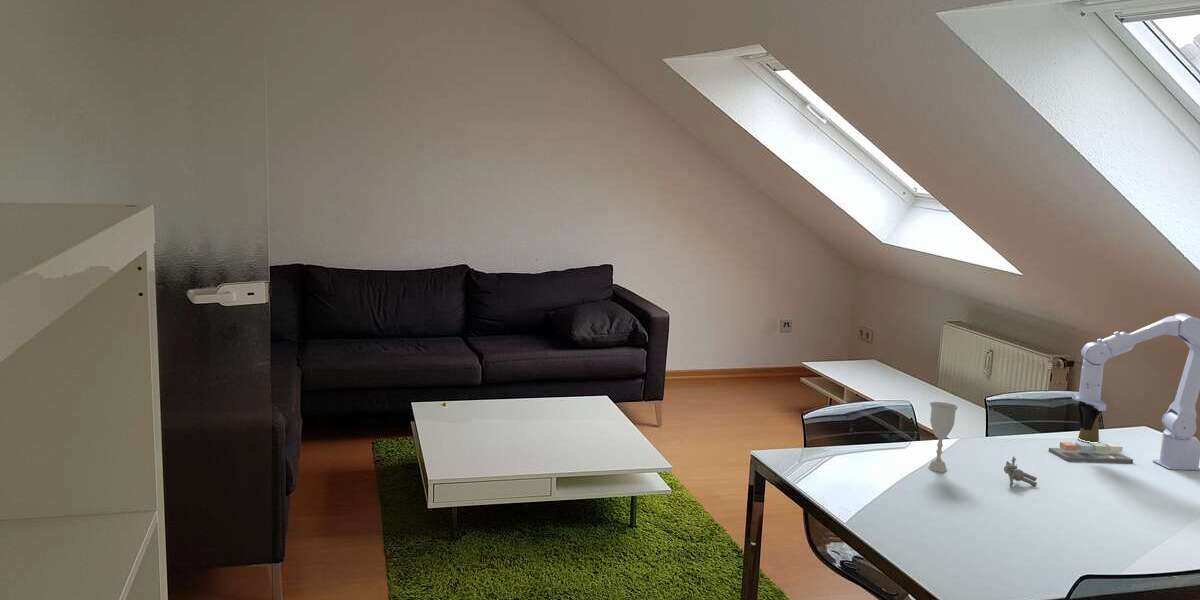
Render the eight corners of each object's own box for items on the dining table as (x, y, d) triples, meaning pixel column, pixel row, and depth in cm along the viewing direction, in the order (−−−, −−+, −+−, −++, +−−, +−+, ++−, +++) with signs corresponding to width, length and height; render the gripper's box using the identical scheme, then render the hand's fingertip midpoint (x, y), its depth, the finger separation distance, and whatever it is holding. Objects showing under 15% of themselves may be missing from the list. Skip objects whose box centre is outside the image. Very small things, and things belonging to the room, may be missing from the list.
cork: (1102, 443, 301) (1106, 409, 299) (1083, 442, 301) (1087, 408, 299) (1093, 438, 307) (1097, 404, 305) (1074, 437, 307) (1078, 403, 305)
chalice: (921, 469, 265) (927, 405, 262) (925, 463, 271) (931, 400, 268) (949, 474, 261) (956, 409, 259) (953, 468, 267) (959, 404, 265)
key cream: (1115, 448, 287) (1115, 443, 287) (1121, 452, 284) (1122, 446, 284) (1104, 448, 287) (1104, 443, 287) (1110, 451, 284) (1111, 446, 284)
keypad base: (1112, 452, 291) (1113, 448, 291) (1132, 462, 281) (1133, 458, 281) (1048, 450, 290) (1048, 447, 289) (1066, 461, 280) (1067, 457, 280)
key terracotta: (1070, 447, 286) (1071, 442, 286) (1076, 450, 283) (1077, 445, 283) (1059, 447, 286) (1060, 441, 286) (1065, 450, 283) (1066, 445, 283)
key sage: (1100, 448, 287) (1100, 443, 287) (1106, 451, 284) (1107, 446, 283) (1089, 448, 287) (1089, 442, 287) (1095, 451, 283) (1096, 446, 283)
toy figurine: (1041, 493, 250) (1008, 478, 250) (1027, 503, 254) (995, 488, 255) (1043, 461, 256) (1011, 448, 256) (1030, 472, 261) (998, 458, 261)
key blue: (1085, 447, 287) (1086, 442, 287) (1091, 451, 283) (1092, 445, 283) (1074, 447, 286) (1074, 442, 286) (1080, 450, 283) (1081, 445, 283)
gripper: (1064, 377, 289) (1059, 422, 291) (1091, 388, 275) (1086, 435, 277) (1086, 378, 290) (1081, 422, 291) (1115, 389, 275) (1109, 436, 277)
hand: (1085, 428), depth 284 cm, fingers closed
